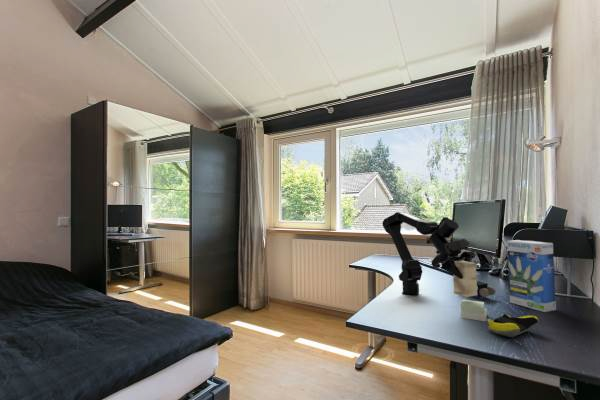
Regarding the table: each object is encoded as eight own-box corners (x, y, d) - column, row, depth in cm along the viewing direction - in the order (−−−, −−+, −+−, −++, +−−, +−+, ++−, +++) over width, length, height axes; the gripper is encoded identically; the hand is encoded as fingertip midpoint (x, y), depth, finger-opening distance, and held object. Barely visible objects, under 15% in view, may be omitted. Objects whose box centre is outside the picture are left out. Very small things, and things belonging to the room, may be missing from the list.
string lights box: (509, 302, 122) (505, 240, 123) (521, 300, 124) (517, 239, 125) (545, 312, 109) (541, 243, 110) (557, 309, 112) (553, 242, 113)
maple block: (454, 293, 113) (452, 262, 113) (464, 291, 115) (462, 260, 115) (466, 297, 108) (465, 264, 108) (477, 295, 110) (475, 262, 110)
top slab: (460, 311, 108) (460, 304, 108) (463, 305, 113) (462, 299, 113) (483, 314, 103) (482, 307, 104) (484, 309, 109) (484, 302, 109)
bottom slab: (460, 318, 107) (460, 312, 107) (462, 312, 113) (461, 305, 114) (486, 322, 102) (486, 315, 103) (486, 315, 109) (486, 308, 109)
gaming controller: (542, 334, 91) (507, 323, 100) (541, 316, 92) (506, 307, 100) (516, 345, 84) (481, 333, 93) (515, 326, 85) (481, 315, 93)
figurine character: (496, 303, 126) (463, 291, 140) (497, 285, 125) (464, 275, 139) (486, 305, 123) (453, 293, 137) (487, 288, 123) (454, 277, 136)
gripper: (435, 233, 112) (462, 267, 102) (470, 231, 119) (498, 262, 109) (421, 251, 119) (445, 284, 109) (454, 248, 126) (480, 279, 116)
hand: (467, 277), depth 110 cm, fingers closed on maple block, 5 cm apart
